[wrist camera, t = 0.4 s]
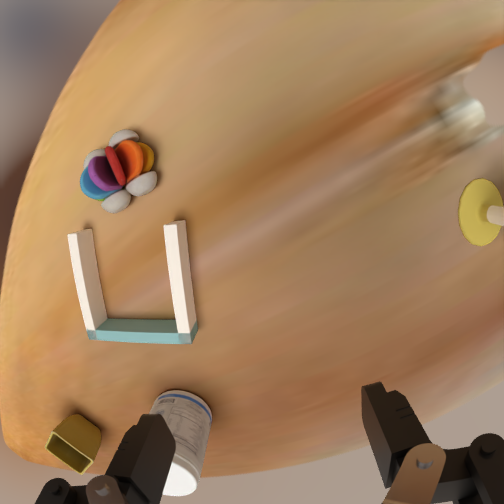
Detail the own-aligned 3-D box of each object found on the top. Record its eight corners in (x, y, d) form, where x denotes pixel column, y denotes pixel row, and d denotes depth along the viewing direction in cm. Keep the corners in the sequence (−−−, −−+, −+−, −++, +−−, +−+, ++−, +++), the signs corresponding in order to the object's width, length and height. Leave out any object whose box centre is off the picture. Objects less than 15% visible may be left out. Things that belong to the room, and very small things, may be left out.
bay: (83, 229, 37) (67, 234, 33) (185, 220, 37) (176, 224, 33) (101, 327, 40) (89, 339, 36) (197, 329, 40) (191, 343, 36)
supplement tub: (198, 437, 44) (181, 504, 30) (147, 412, 44) (117, 476, 29) (224, 405, 42) (210, 478, 28) (167, 377, 42) (135, 445, 27)
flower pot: (74, 402, 44) (51, 430, 36) (111, 430, 45) (93, 462, 37) (63, 421, 46) (43, 447, 37) (98, 446, 47) (81, 475, 38)
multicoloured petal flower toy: (171, 180, 36) (150, 179, 29) (111, 219, 37) (83, 226, 30) (142, 124, 34) (117, 112, 27) (86, 165, 36) (54, 163, 29)
